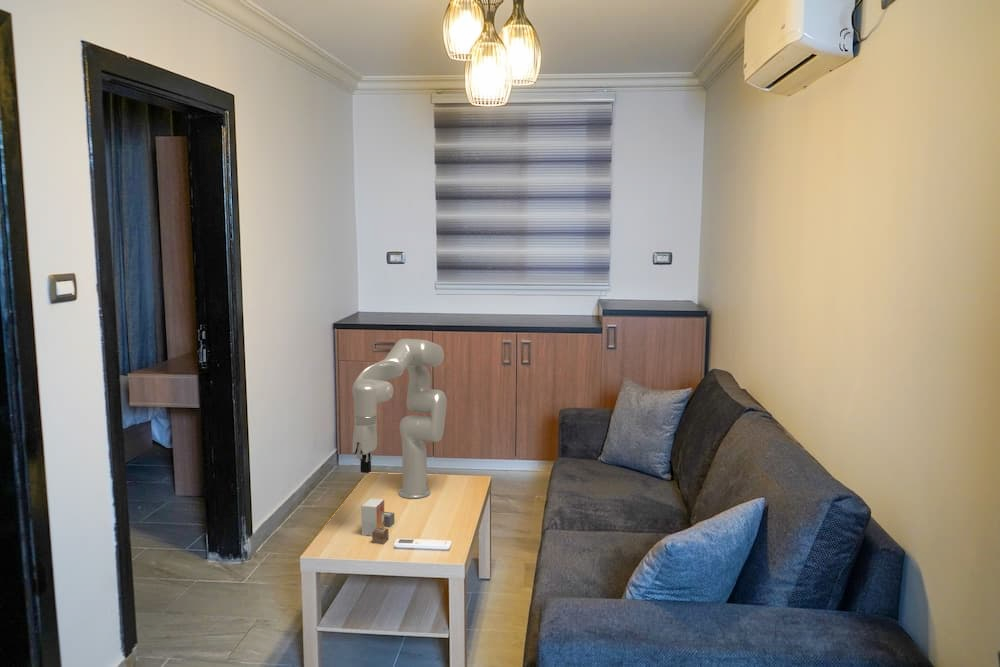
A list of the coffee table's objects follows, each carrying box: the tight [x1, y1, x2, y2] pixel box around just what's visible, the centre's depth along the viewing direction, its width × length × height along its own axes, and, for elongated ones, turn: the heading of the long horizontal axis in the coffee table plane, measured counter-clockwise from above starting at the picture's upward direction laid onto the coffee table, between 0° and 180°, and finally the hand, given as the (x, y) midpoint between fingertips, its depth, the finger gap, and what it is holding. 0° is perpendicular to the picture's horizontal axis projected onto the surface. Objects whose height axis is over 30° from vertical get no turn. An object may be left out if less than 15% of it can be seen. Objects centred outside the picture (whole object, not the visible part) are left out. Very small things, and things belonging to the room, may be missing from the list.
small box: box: [360, 497, 385, 537], centre depth 258 cm, size 8×6×10 cm
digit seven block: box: [371, 527, 389, 545], centre depth 250 cm, size 4×4×4 cm
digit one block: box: [384, 511, 395, 529], centre depth 265 cm, size 4×4×4 cm
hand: (365, 472), depth 258 cm, fingers closed
